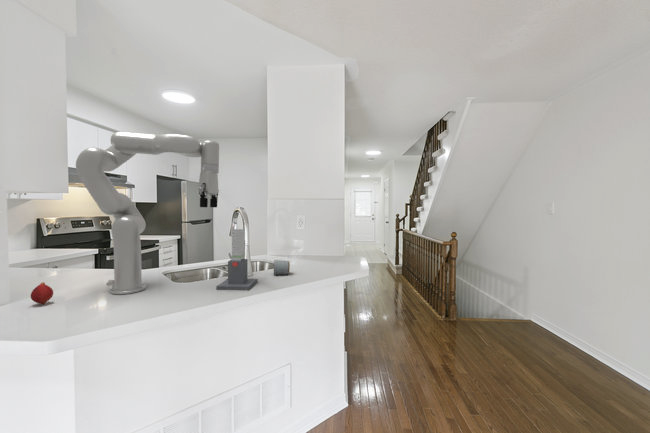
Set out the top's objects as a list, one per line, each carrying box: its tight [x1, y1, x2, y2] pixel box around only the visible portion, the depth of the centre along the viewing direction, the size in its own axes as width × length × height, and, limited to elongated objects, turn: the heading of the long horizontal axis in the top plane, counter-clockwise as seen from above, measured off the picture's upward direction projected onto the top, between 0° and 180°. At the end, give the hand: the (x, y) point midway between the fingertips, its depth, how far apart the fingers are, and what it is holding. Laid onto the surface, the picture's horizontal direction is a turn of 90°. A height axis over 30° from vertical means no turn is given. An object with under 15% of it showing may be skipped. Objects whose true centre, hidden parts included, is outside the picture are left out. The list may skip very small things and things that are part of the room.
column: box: [231, 228, 245, 261], centre depth 133 cm, size 4×4×18 cm
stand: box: [215, 258, 259, 291], centre depth 133 cm, size 14×14×12 cm
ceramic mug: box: [273, 259, 291, 276], centre depth 157 cm, size 11×8×8 cm
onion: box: [30, 281, 54, 305], centre depth 106 cm, size 6×6×8 cm
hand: (208, 207), depth 133 cm, fingers open, 9 cm apart
